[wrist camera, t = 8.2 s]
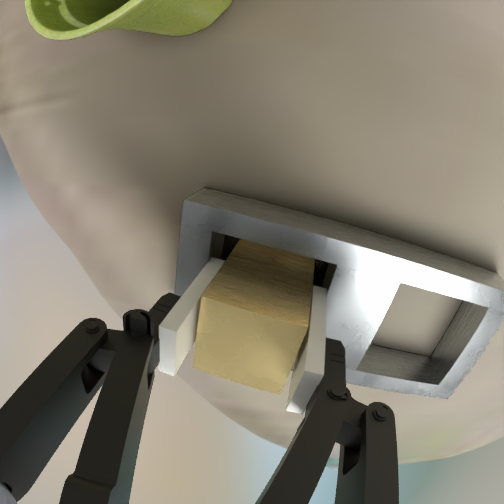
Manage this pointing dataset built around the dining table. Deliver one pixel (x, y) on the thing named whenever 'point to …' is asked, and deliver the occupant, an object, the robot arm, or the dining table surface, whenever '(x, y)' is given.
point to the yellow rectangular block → (255, 316)
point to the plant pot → (121, 16)
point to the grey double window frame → (356, 286)
